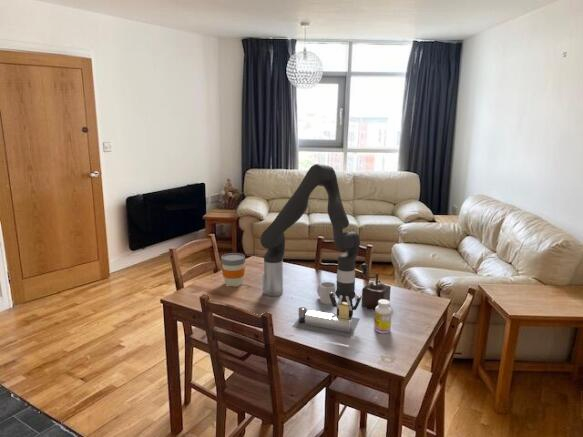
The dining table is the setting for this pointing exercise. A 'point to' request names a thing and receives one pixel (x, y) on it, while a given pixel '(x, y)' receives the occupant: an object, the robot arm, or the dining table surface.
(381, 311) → the supplement bottle
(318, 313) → the bar
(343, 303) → the block
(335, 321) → the base
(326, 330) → the mat
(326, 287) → the cup
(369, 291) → the coffee grinder
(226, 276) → the reusable coffee cup
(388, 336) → the dining table surface
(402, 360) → the dining table surface
